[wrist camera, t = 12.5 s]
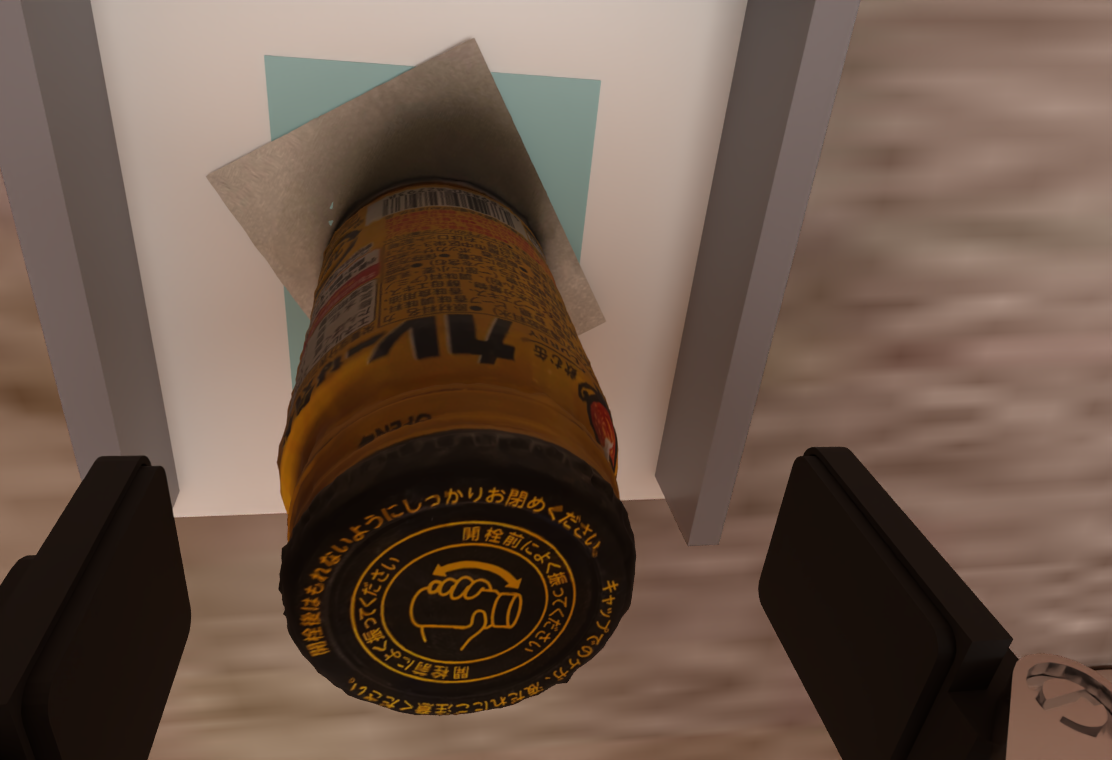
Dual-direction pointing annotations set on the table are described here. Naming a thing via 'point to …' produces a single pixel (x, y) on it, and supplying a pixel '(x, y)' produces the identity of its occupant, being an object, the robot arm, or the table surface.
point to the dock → (244, 274)
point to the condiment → (436, 401)
